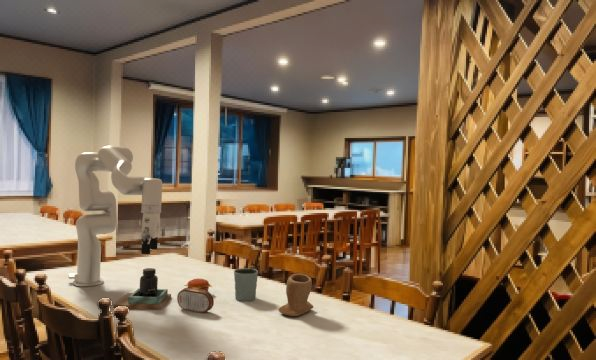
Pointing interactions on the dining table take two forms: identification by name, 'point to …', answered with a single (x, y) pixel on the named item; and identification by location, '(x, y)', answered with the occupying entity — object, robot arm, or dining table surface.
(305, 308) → the stone cup
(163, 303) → the socket board
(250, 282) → the grey cup
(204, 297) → the tin
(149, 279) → the supplement bottle
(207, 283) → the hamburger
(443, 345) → the dining table surface
